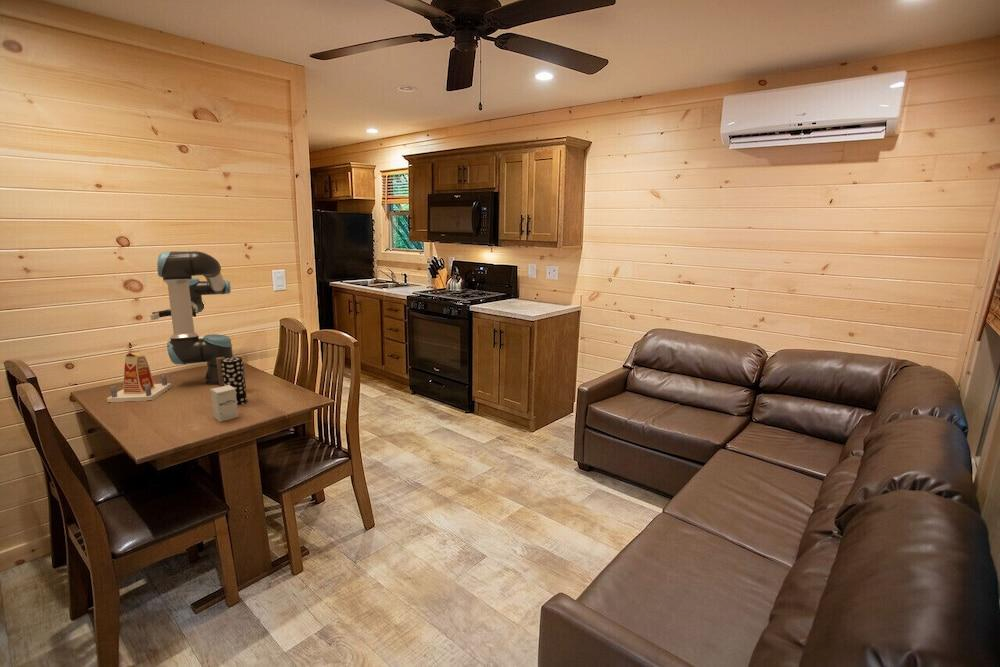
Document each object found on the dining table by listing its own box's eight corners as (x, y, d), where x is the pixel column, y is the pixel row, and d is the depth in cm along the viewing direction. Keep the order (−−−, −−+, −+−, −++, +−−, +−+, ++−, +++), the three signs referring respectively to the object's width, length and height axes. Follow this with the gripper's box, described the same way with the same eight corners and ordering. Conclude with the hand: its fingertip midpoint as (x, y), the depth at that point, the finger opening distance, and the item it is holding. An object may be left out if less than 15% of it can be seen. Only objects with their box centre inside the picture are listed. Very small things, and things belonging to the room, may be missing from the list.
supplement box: (219, 422, 197) (215, 393, 194) (213, 417, 202) (209, 388, 199) (239, 417, 202) (235, 388, 199) (232, 412, 207) (229, 384, 204)
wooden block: (246, 391, 232) (242, 355, 228) (221, 396, 224) (216, 359, 220) (244, 389, 234) (239, 353, 230) (219, 394, 227) (214, 357, 223)
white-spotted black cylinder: (238, 398, 223) (233, 356, 219) (251, 401, 220) (246, 358, 215) (221, 404, 216) (216, 360, 211) (234, 407, 212) (228, 363, 208)
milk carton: (143, 394, 221) (135, 351, 217) (122, 393, 221) (115, 351, 217) (156, 387, 230) (150, 346, 226) (137, 387, 230) (130, 346, 226)
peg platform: (171, 387, 236) (169, 373, 235) (152, 400, 219) (149, 386, 217) (131, 388, 234) (128, 374, 232) (107, 402, 216) (104, 387, 215)
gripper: (212, 316, 264) (194, 324, 243) (162, 317, 260) (140, 325, 240) (210, 302, 262) (192, 309, 241) (160, 303, 258) (137, 310, 238)
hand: (166, 317), depth 240 cm, fingers open, 13 cm apart
